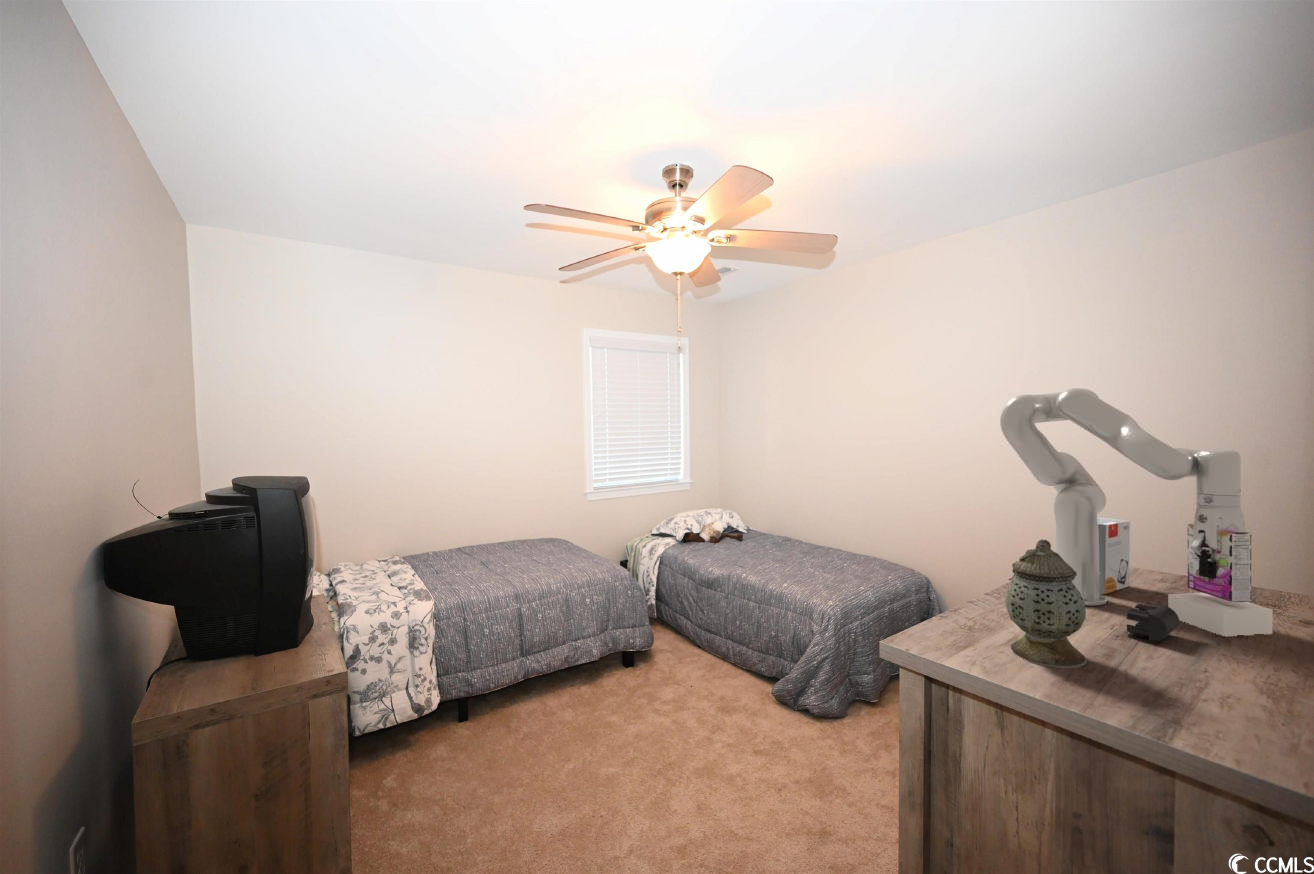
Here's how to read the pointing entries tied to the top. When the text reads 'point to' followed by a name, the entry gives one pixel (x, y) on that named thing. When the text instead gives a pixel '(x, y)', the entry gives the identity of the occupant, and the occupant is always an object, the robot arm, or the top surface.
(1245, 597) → the candy bar box
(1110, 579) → the hard drive box
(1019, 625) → the lantern
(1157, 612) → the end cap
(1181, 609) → the painted block
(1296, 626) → the top surface
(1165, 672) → the top surface
